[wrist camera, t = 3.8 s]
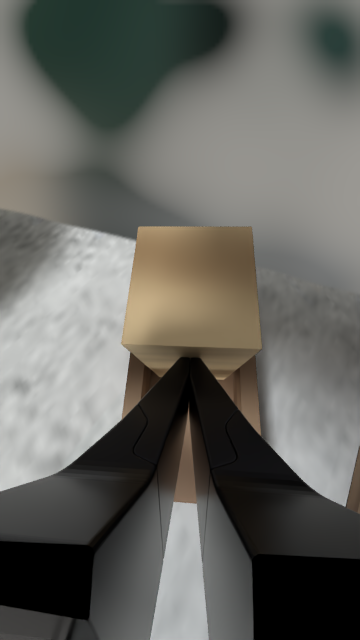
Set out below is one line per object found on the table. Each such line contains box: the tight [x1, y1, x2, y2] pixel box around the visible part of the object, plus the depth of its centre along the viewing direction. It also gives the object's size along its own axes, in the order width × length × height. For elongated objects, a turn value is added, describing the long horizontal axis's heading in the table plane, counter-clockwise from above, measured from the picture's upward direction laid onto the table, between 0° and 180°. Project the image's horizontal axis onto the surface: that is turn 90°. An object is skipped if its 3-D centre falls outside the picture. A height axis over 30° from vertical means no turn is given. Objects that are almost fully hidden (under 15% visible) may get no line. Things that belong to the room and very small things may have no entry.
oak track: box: [122, 269, 261, 504], centre depth 15 cm, size 15×8×5 cm, turn 177°
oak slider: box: [121, 227, 262, 380], centre depth 12 cm, size 5×5×9 cm
